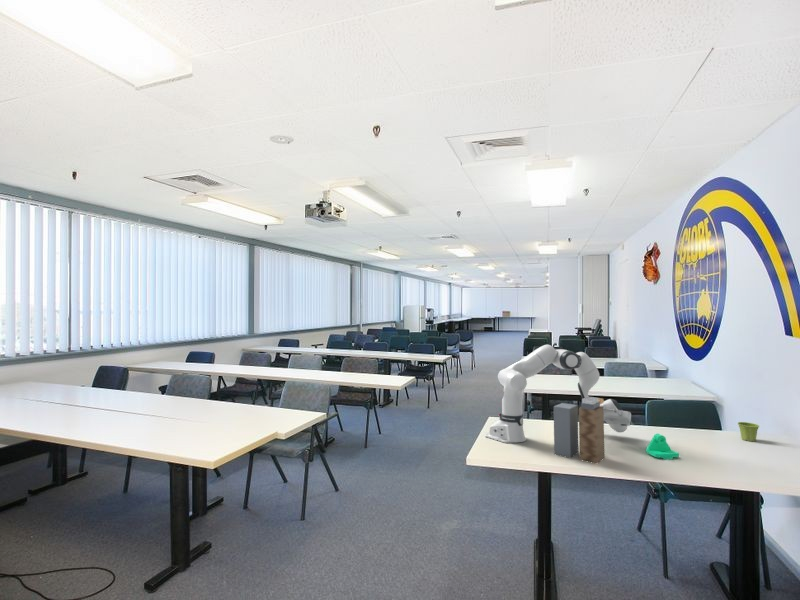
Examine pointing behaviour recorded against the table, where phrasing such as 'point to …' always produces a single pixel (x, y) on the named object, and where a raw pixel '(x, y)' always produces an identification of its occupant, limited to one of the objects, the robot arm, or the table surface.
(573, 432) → the grey stand
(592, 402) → the wood and grey block
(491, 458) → the table surface
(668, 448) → the camera mount
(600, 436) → the walnut stand
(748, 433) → the plant pot
